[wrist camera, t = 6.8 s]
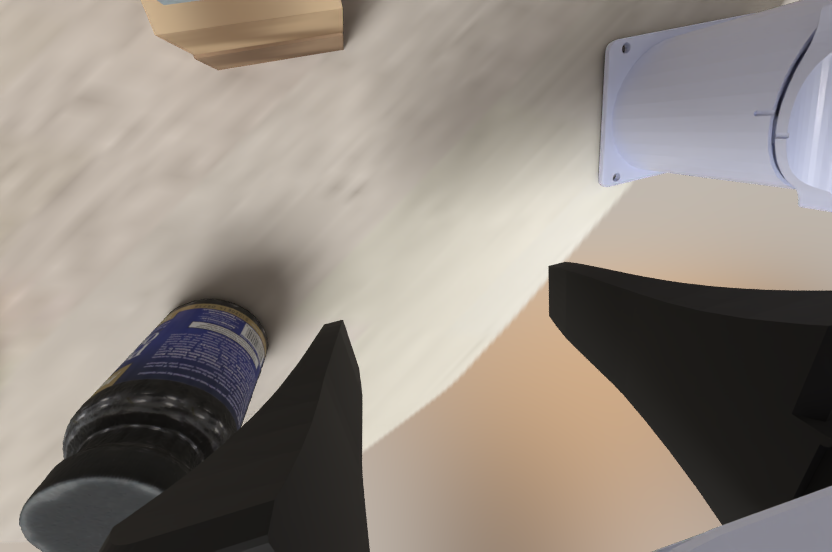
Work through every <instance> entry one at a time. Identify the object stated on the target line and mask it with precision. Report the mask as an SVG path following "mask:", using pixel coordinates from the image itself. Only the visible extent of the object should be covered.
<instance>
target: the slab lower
mask: <svg viewBox="0 0 832 552" xmlns="http://www.w3.org/2000/svg"><path fill="white" fill-rule="evenodd" d="M338 50H343V33H335V34H329V35H322V36H316V37H309V38H303V39H296V40H289V41H283V42H276V43H270V44H263V45H256V46H250V47H243V48H237V49H230V50H223V51H217V52H210V53H204V54H197V55H193V56H194V58H195V59H196V60H198V61H200V62H202V63H204V64H206V65H208V66H211V67H213V68H215V69H217V70H222V69H228V68H234V67H241V66H247V65H253V64H259V63H265V62H271V61H277V60H283V59H289V58H295V57H301V56H307V55H314V54H320V53H326V52H332V51H338Z"/></svg>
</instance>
